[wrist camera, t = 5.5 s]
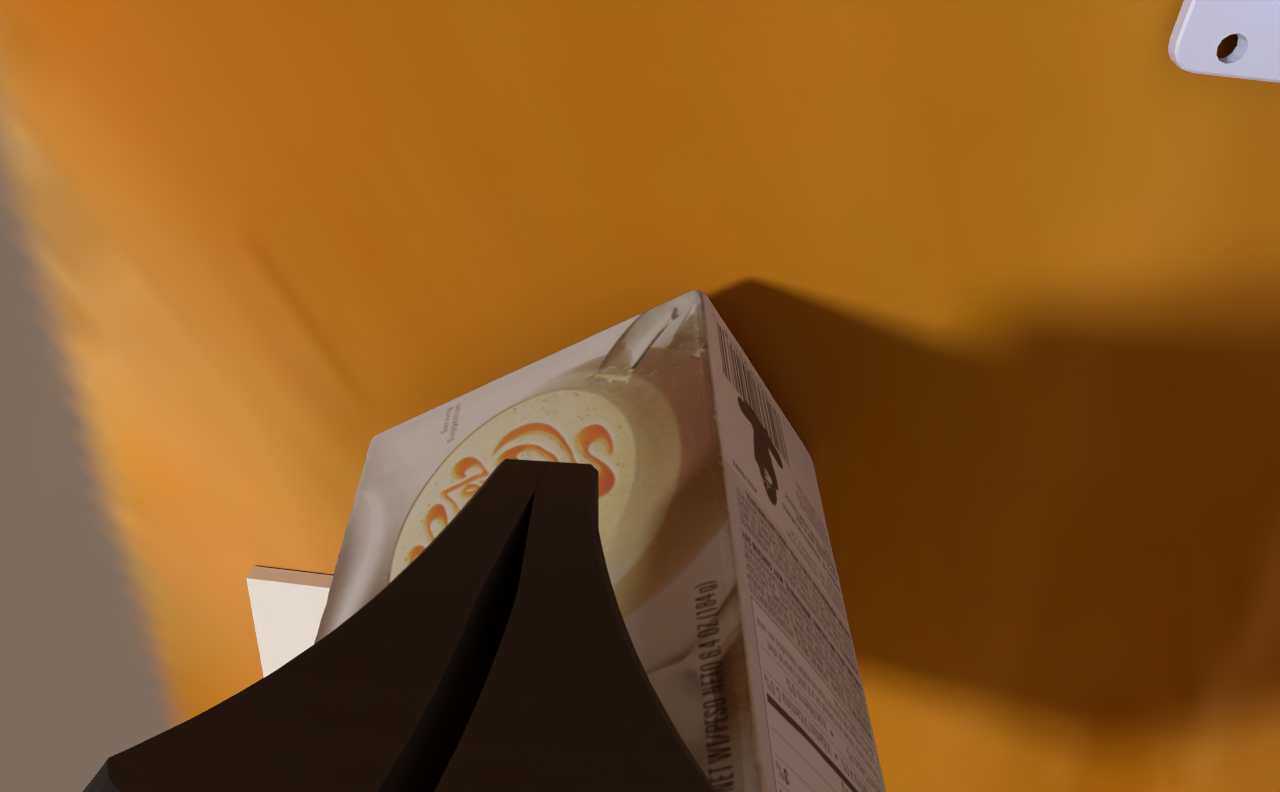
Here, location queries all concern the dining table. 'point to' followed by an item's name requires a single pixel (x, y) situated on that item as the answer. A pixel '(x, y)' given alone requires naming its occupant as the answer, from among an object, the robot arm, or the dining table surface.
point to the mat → (286, 612)
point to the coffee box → (660, 536)
